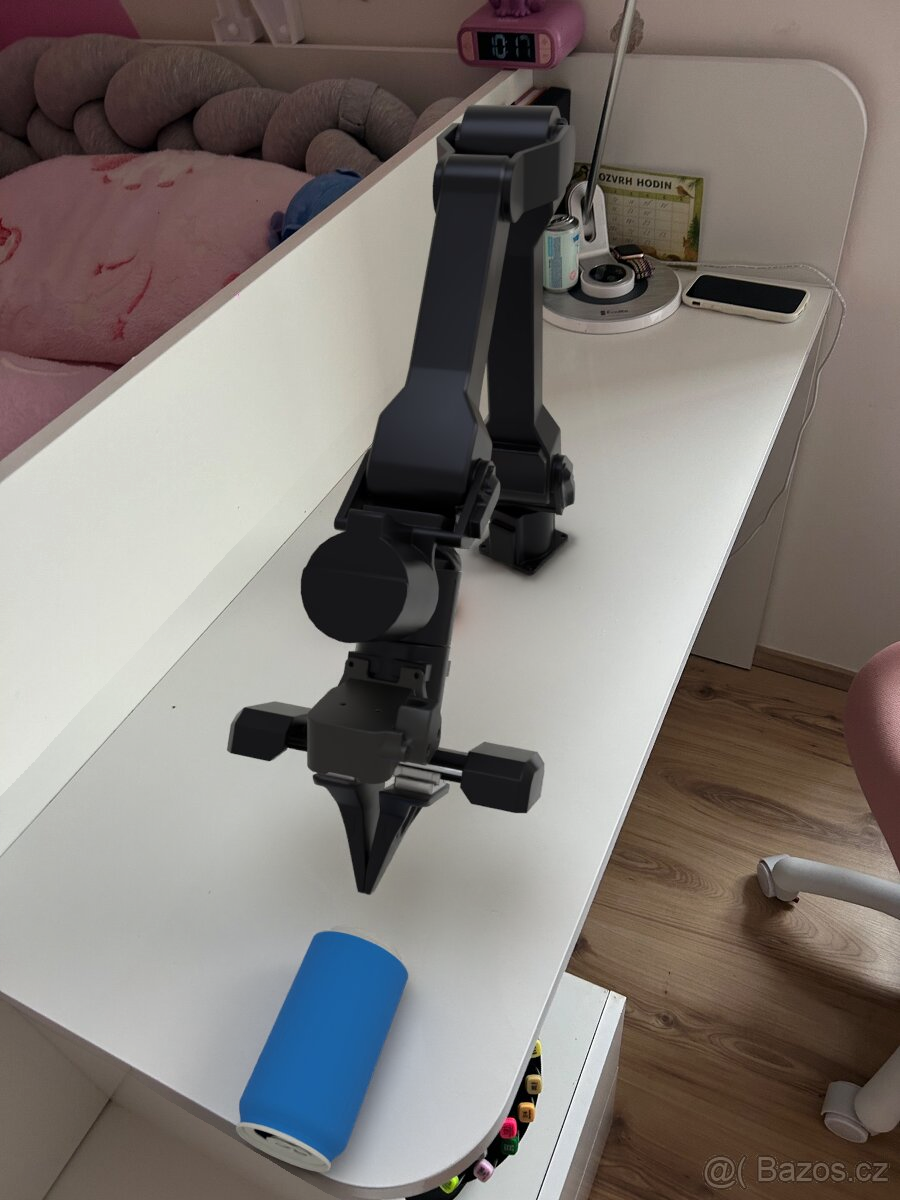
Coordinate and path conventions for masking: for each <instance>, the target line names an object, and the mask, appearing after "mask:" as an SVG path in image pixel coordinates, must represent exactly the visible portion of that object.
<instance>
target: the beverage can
mask: <svg viewBox="0 0 900 1200" xmlns="http://www.w3.org/2000/svg"><path fill="white" fill-rule="evenodd" d="M408 979H409V971H408V969H407V967H406V965H405V964H404V963H403V961H402V956H401V953H399V951H398V950H397V949H396V948H395V947H394V945H392V944H391V943H390V942H388V941H387V940H386V939H383V938H382V937H380V936H378V935H377V934H374V933H372V932H370V931H368V930H364V929H362V928H359V927H355V926H349V925H336V926H333V927H331V928H330V929H325V930H321V931H318V932H316V933H315V934H314V935H313V937H312V939H311V941H310V943H309V946H308V947H307V949H306V952H305V954H304V956H303V959H302V961H301V962H300V966H299V967H298V969H297V972H296V974H295V977H294V979H293V981H292V983H291V985H290V988H289V990H288V992H287V994H286V995H285V999H284V1000H283V1003H282V1005H281V1008H280V1010H279V1012H278V1014H277V1017H276V1019H275V1021H274V1023H273V1025H272V1027H271V1030H270V1032H269V1035H268V1037H267V1039H266V1041H265V1042H264V1043H265V1044H264V1045H263V1048H262V1050H261V1053H260V1055H259V1056H258V1059H257V1061H256V1063H255V1066H254V1067H253V1070H252V1072H251V1074H250V1076H249V1079H248V1080H247V1083H246V1086H245V1087H244V1090H243V1092H242V1094H241V1096H240V1099H239V1102H238V1110H239V1122H238V1123H237V1125H236V1127H235V1132H236V1133H237V1134H238V1135H239V1136H240V1138H241V1139H243V1140H244V1141H245V1142H247V1143H249V1144H250V1145H252V1146H253V1147H254V1148H256V1149H258V1150H260V1151H262V1152H263V1153H265V1154H267V1155H269V1156H271V1157H274V1158H275V1159H278V1160H280V1161H282V1162H285V1163H287V1164H290V1165H292V1166H294V1167H298V1168H301V1169H304V1170H308V1171H312V1172H315V1173H328V1172H330V1170H331V1167H332V1162H333V1160H335V1159H336V1158H337V1157H340V1155H341V1154H343V1153H344V1151H345V1150H346V1149H347V1147H348V1143H349V1141H350V1139H351V1136H352V1133H353V1130H354V1127H355V1124H356V1122H357V1119H358V1117H359V1113H360V1110H361V1108H362V1106H363V1103H364V1100H365V1097H366V1094H367V1092H368V1089H369V1086H370V1084H371V1080H372V1078H373V1076H374V1075H373V1074H374V1072H375V1069H376V1067H377V1064H378V1061H379V1059H380V1056H381V1053H382V1050H383V1047H384V1045H385V1043H386V1039H387V1036H388V1034H389V1031H390V1029H391V1025H392V1023H393V1020H394V1017H395V1014H396V1012H397V1009H398V1006H399V1003H400V1001H401V998H402V995H403V993H404V991H405V987H406V984H407V981H408Z"/></svg>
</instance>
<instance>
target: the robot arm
mask: <svg viewBox="0 0 900 1200" xmlns="http://www.w3.org/2000/svg"><path fill="white" fill-rule="evenodd" d="M576 140H577V139H576V128H575V125H573V124H572V125H571V124H568V120H567V119H566V118H565V117H562V116H561V113H560V108H559V107H558V105H517V104H516V105H514V104H513V105H512V104H511V105H510V104H509V105H507V104H506V105H505V104H470V105H468V106H466V109H465V111H464V112H463V116H462V119H461V122H452V123H451V124H449V125H448V126H447V127H446V128H445V129H444V130H443V131H442V132H441V133H439V135H437V136H436V139H435V142H436V159H437V162H436V165H435V169H434V172H433V178H432V203H433V204H432V205H433V210H434V213H435V216H434V223H433V227H432V233H431V234H432V235H431V239H430V245H429V251H428V256H427V262H426V268H425V275H424V279H423V285H422V290H421V297H420V303H419V309H418V313H417V314H418V315H417V319H416V325H415V332H414V337H413V342H412V349H411V353H410V360H409V365H408V370H407V374H406V379H405V383H404V386H403V387H402V388H401V389H400V390H399V392H398V393H397V394H396V395H395V396H394V397H393V398H392V399H391V401H390V402H388V404H387V405H386V406H385V407H384V409H382V411H381V412H380V413H379V415H378V418H377V422H376V426H375V430H374V434H373V438H372V442H371V447H369V448H368V449H367V450H366V451H365V454H364V455H363V458H362V460H361V461H360V464H359V466H358V468H357V470H356V473H355V475H354V477H353V478H352V481H351V483H350V485H349V488H348V489H347V492H346V494H345V496H344V498H343V500H342V502H341V503H340V507H339V509H338V511H337V513H336V514H335V517H334V521H333V527H334V530H335V531H338V532H339V533H337V534H334V535H333V536H330V537H328V538H327V539H326V540H324V541H323V542H322V543H320V544H319V545H318V546H317V548H316V549H315V550H314V551H313V552H312V554H311V555H310V557H309V558H308V561H307V563H306V565H305V566H304V567H303V569H302V572H301V576H300V597H301V602H302V606H303V608H304V611H305V613H306V615H307V617H308V620H309V621H310V622H311V623H312V624H313V625H314V627H315V628H316V630H318V631H319V632H321V633H322V634H324V635H325V636H326V637H328V638H331V639H332V640H335V641H336V642H340V643H343V644H344V643H345V644H355V648H354V650H348V654H347V658H346V660H345V662H344V667H343V668H344V669H343V673H342V675H341V678H340V680H339V682H338V683H337V685H336V686H334V687H332V688H330V689H329V690H328V691H327V692H326V693H325V694H324V695H323V696H322V697H321V698H320V699H319V700H318V701H317V702H316V703H315V704H314V705H313V706H312V707H307V706H301V705H296V704H291V703H286V702H280V701H276V700H275V701H269V702H264V703H259V704H253V705H248V706H244V707H242V709H240V710H239V711H238V712H237V713H236V714H235V716H234V718H233V720H232V721H231V723H230V727H229V734H228V739H227V748H226V751H227V752H228V753H229V754H232V755H237V756H241V757H246V758H251V759H255V760H260V761H265V762H271V761H274V760H276V759H277V758H278V757H280V756H281V755H282V754H284V753H285V752H286V751H287V750H288V749H291V750H296V751H301V752H305V753H306V766H307V768H308V769H309V770H310V771H311V772H313V773H314V774H312V776H311V777H312V781H313V784H314V785H316V786H319V787H323V788H325V789H326V790H327V792H328V793H329V794H330V796H331V797H332V798H333V801H335V803H336V804H337V807H338V810H339V813H340V816H341V819H342V822H343V826H344V830H345V835H346V840H347V844H348V850H349V854H350V860H351V865H352V870H353V875H354V880H355V886H356V891H357V893H359V894H363V895H367V896H371V895H372V894H373V893H375V891H376V889H377V888H378V886H379V884H380V883H381V880H382V879H383V877H384V874H385V873H386V871H387V870H388V868H389V865H390V863H391V861H392V859H393V858H394V856H395V855H396V852H397V850H398V849H399V846H400V844H401V843H402V841H403V839H404V837H405V835H406V834H407V832H408V830H409V829H410V827H411V825H412V823H414V821H415V819H416V818H417V816H418V815H419V813H420V812H421V810H423V808H429V807H430V806H432V805H434V804H435V803H436V802H438V801H439V800H441V799H442V798H443V797H444V796H446V795H447V794H449V792H450V787H451V784H450V783H448V782H451V783H457V784H459V788H460V790H461V791H462V793H463V794H464V796H465V797H466V799H467V800H468V802H469V803H470V805H473V806H479V807H485V808H489V809H494V810H497V811H503V812H507V813H513V814H528V813H529V811H530V810H531V809H532V808H533V807H534V805H535V804H536V803H537V802H538V801H539V799H540V798H541V796H542V790H543V783H544V776H545V761H544V760H543V759H542V757H541V755H540V753H539V752H538V751H534V750H530V749H525V748H519V747H515V746H510V745H504V744H500V743H494V742H489V741H483V742H482V743H480V744H478V745H476V746H475V747H473V748H470V750H468V752H466V751H461V750H456V749H451V748H445V747H440V743H441V739H442V723H443V721H442V706H443V700H444V692H445V687H446V686H445V685H446V679H447V678H449V676H450V671H451V663H452V661H451V660H449V659H450V653H451V646H452V639H453V632H454V627H455V619H456V612H457V608H458V607H457V605H458V599H459V593H460V586H461V579H462V566H463V565H462V564H463V563H462V558H461V555H460V553H459V552H457V550H456V549H461V550H470V549H471V547H472V545H473V543H474V542H475V539H476V540H481V539H482V537H483V535H484V533H485V531H486V528H487V526H488V536H487V537H486V538H485V539H484V540H483V541H482V542H481V543H479V545H478V551H479V553H481V554H483V555H485V556H487V557H489V558H492V559H494V560H496V561H498V562H501V563H502V564H504V565H507V566H509V567H511V568H514V569H516V570H518V571H520V572H522V573H525V574H526V575H529V576H530V575H534V574H535V573H537V572H538V571H539V570H540V568H542V567H543V566H544V565H545V564H546V563H547V562H548V561H549V560H550V559H551V558H553V556H554V555H555V554H556V553H557V552H558V551H560V549H561V548H562V547H563V546H564V545H565V544H567V542H568V541H569V534H567V533H566V532H563V531H561V530H559V529H557V528H556V516H563V513H564V511H565V509H566V508H568V507H569V506H572V505H574V504H575V501H576V482H575V476H574V463H573V462H572V461H571V460H570V458H569V457H568V456H567V455H566V454H562V430H561V428H560V426H559V424H558V423H557V421H556V420H555V419H554V417H553V416H552V414H551V413H550V412H549V410H548V409H547V408H546V406H545V404H543V403H544V402H543V365H544V364H543V359H544V355H543V354H544V353H543V350H544V349H543V346H544V344H543V343H544V342H543V338H544V337H543V336H544V334H543V333H544V332H543V331H544V321H543V320H544V233H545V231H546V229H547V228H548V226H549V224H550V222H551V220H552V219H553V217H554V215H555V213H556V212H557V209H558V208H559V206H560V204H561V202H562V200H563V198H564V196H565V195H566V191H567V187H568V186H569V184H570V183H571V180H572V177H573V173H574V170H575V169H574V168H575V160H576V148H577V146H576V142H577V141H576ZM485 372H486V387H487V390H486V391H487V413H488V414H487V415H486V416H485V418H484V419H483V416H482V414H481V411H480V406H481V398H482V392H483V391H482V390H483V385H484V377H485ZM392 777H394V780H393V781H394V782H393V783H391V784H389V785H387V786H386V783H387V782H388V781H389V780H391V778H392Z"/></svg>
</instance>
